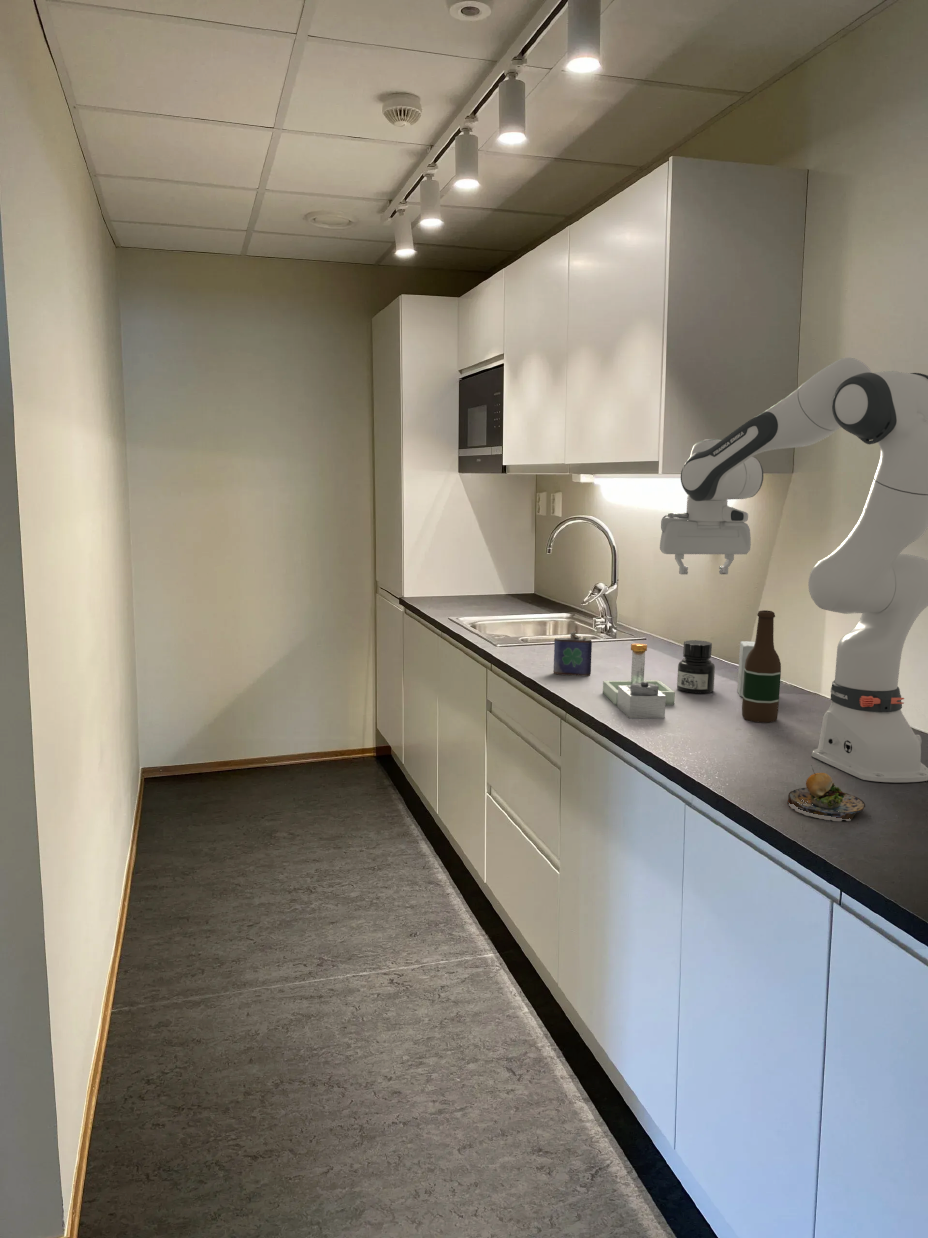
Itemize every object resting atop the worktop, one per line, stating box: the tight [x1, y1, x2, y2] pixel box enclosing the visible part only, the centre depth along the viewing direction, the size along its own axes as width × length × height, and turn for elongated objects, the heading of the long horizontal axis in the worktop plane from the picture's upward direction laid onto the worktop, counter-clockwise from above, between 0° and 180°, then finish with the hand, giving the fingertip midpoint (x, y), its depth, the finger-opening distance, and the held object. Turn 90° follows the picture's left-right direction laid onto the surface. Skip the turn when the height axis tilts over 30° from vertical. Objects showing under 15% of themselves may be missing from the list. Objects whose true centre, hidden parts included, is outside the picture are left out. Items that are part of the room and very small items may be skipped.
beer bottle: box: [741, 609, 782, 724], centre depth 204 cm, size 8×8×24 cm
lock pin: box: [630, 643, 648, 684], centre depth 222 cm, size 4×4×12 cm
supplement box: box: [736, 640, 755, 698], centre depth 227 cm, size 7×7×13 cm
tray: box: [602, 679, 676, 706], centre depth 222 cm, size 12×14×3 cm
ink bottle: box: [676, 639, 716, 694], centre depth 231 cm, size 10×9×12 cm
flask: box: [553, 630, 593, 677], centre depth 247 cm, size 10×3×12 cm, turn 79°
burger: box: [787, 765, 866, 820], centre depth 151 cm, size 12×12×8 cm
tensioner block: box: [616, 682, 666, 719], centre depth 209 cm, size 10×8×7 cm
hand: (703, 574), depth 212 cm, fingers open, 8 cm apart
